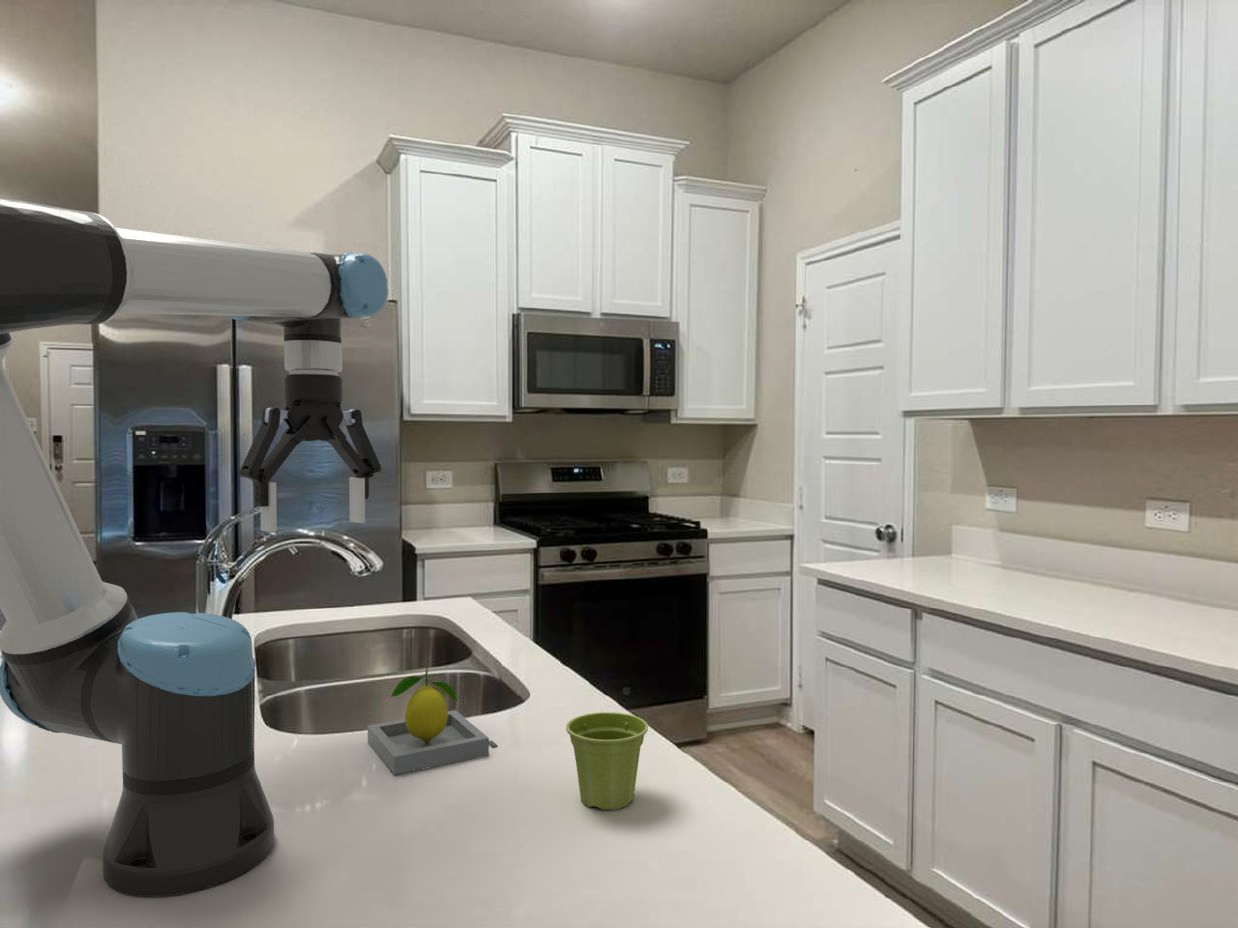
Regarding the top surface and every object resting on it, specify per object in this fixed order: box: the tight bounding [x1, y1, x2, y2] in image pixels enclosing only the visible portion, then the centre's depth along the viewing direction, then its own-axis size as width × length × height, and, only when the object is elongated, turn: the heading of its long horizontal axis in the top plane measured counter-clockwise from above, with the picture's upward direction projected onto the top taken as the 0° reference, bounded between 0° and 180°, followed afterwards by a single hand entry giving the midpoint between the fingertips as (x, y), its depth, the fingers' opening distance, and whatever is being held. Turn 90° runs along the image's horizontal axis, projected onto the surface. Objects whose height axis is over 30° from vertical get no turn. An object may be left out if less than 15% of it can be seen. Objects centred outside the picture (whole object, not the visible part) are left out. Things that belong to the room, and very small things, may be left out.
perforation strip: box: [482, 732, 498, 748], centre depth 116 cm, size 9×1×1 cm, turn 31°
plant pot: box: [565, 711, 649, 811], centre depth 96 cm, size 9×9×9 cm
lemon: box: [390, 667, 458, 743], centre depth 111 cm, size 7×6×10 cm
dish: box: [367, 709, 490, 776], centre depth 111 cm, size 12×12×2 cm
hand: (315, 526), depth 117 cm, fingers open, 13 cm apart
